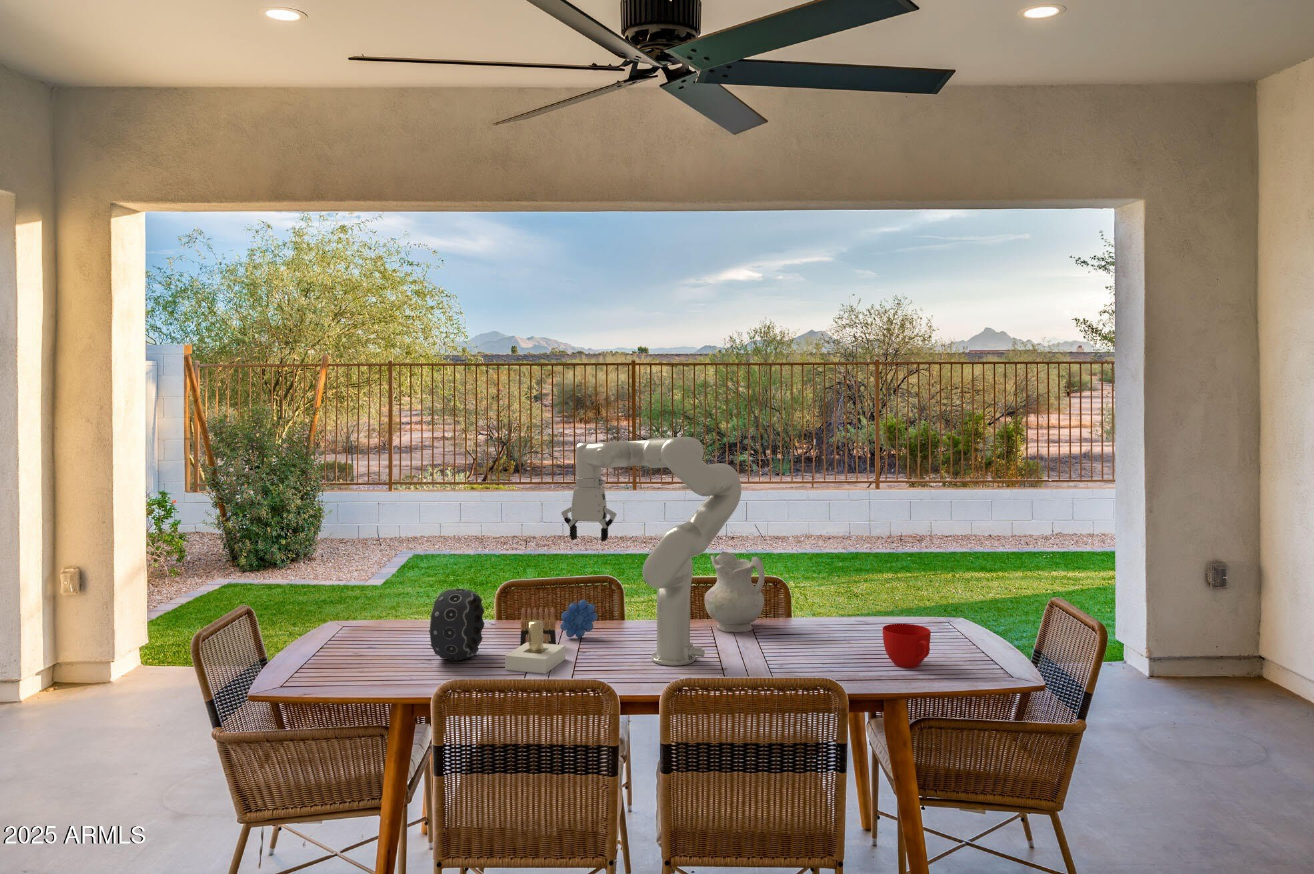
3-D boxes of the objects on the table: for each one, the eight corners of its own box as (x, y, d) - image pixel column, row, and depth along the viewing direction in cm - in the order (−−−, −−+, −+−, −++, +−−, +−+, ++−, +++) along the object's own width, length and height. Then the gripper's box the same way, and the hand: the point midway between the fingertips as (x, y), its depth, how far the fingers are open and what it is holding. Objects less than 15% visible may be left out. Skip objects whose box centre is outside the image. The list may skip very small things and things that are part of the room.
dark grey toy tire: (427, 668, 237) (426, 596, 236) (451, 648, 257) (451, 582, 256) (464, 669, 236) (464, 597, 235) (486, 649, 256) (486, 582, 255)
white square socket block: (565, 659, 245) (565, 645, 245) (545, 673, 232) (545, 659, 232) (527, 655, 249) (527, 642, 249) (505, 669, 235) (505, 655, 235)
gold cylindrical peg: (545, 662, 242) (545, 620, 241) (539, 667, 238) (539, 624, 238) (532, 661, 243) (532, 619, 242) (526, 665, 239) (526, 623, 239)
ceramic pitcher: (779, 630, 281) (781, 554, 282) (753, 639, 264) (756, 558, 265) (721, 622, 292) (723, 549, 293) (693, 630, 276) (695, 552, 277)
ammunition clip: (520, 647, 258) (519, 607, 257) (520, 645, 259) (520, 606, 259) (555, 646, 258) (555, 607, 258) (556, 645, 260) (556, 606, 259)
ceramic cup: (906, 678, 228) (907, 640, 228) (873, 660, 244) (873, 625, 244) (948, 673, 231) (949, 637, 231) (913, 656, 248) (913, 622, 247)
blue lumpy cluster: (595, 633, 273) (595, 596, 273) (598, 639, 267) (598, 600, 266) (559, 635, 271) (559, 597, 271) (561, 640, 265) (560, 602, 264)
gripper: (619, 483, 258) (620, 539, 258) (566, 481, 263) (566, 537, 263) (611, 485, 251) (611, 543, 251) (557, 483, 255) (557, 540, 256)
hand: (588, 540), depth 257 cm, fingers open, 9 cm apart
